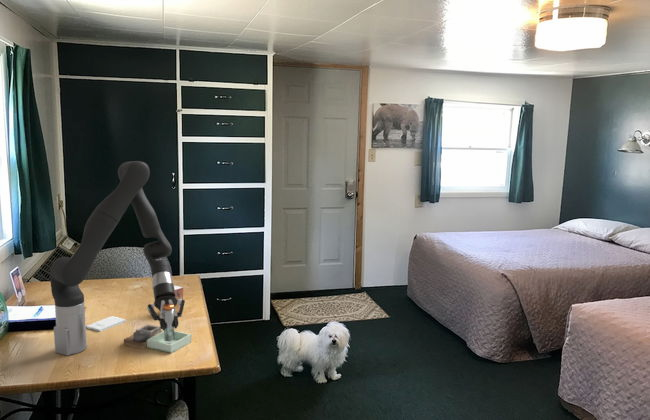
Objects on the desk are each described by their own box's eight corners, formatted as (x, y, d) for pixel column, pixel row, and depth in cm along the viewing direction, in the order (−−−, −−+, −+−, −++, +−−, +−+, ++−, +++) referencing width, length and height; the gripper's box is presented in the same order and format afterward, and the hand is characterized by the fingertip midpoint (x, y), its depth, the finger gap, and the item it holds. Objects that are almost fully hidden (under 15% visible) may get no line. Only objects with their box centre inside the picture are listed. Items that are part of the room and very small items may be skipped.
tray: (171, 353, 179) (171, 345, 179) (147, 347, 183) (146, 339, 183) (191, 341, 189) (191, 334, 189) (167, 336, 193) (167, 329, 193)
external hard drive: (125, 323, 208) (99, 333, 197) (111, 319, 212) (85, 329, 201) (125, 319, 208) (99, 329, 197) (111, 315, 211) (85, 325, 200)
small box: (169, 315, 215) (168, 291, 214) (160, 313, 218) (159, 289, 217) (183, 310, 222) (183, 287, 221) (175, 307, 225) (174, 284, 223)
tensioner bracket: (142, 349, 182) (142, 334, 181) (123, 344, 186) (123, 330, 185) (166, 336, 193) (165, 323, 192) (147, 332, 197) (147, 319, 196)
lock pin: (170, 342, 183) (169, 307, 181) (161, 340, 185) (160, 306, 183) (177, 338, 187) (176, 304, 185) (168, 336, 189) (167, 302, 187)
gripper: (144, 284, 186) (150, 327, 178) (183, 279, 193) (191, 321, 184) (143, 293, 192) (148, 336, 183) (181, 289, 198) (188, 329, 189)
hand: (170, 328), depth 183 cm, fingers closed on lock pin, 3 cm apart
